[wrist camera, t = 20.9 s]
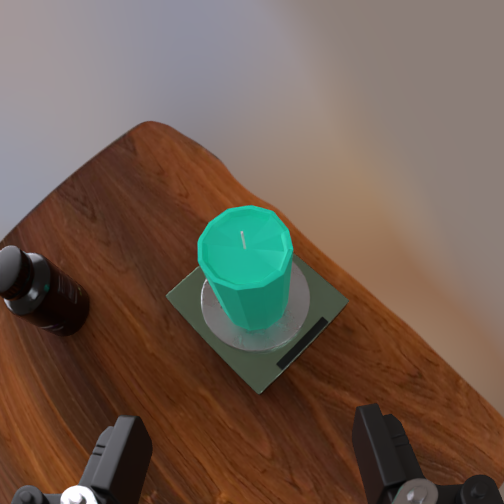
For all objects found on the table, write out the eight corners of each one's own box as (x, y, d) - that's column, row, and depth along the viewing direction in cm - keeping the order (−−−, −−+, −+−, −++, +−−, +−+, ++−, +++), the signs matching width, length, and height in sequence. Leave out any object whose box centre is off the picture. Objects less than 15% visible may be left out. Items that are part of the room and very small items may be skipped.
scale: (344, 308, 32) (351, 297, 29) (259, 395, 28) (258, 394, 26) (254, 230, 36) (252, 214, 33) (172, 303, 33) (162, 293, 30)
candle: (236, 340, 28) (209, 297, 17) (213, 282, 30) (179, 211, 20) (299, 314, 28) (312, 255, 18) (272, 258, 31) (268, 177, 20)
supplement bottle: (57, 348, 31) (-14, 317, 21) (41, 301, 34) (-22, 260, 23) (100, 318, 33) (35, 277, 22) (80, 272, 35) (22, 221, 25)
